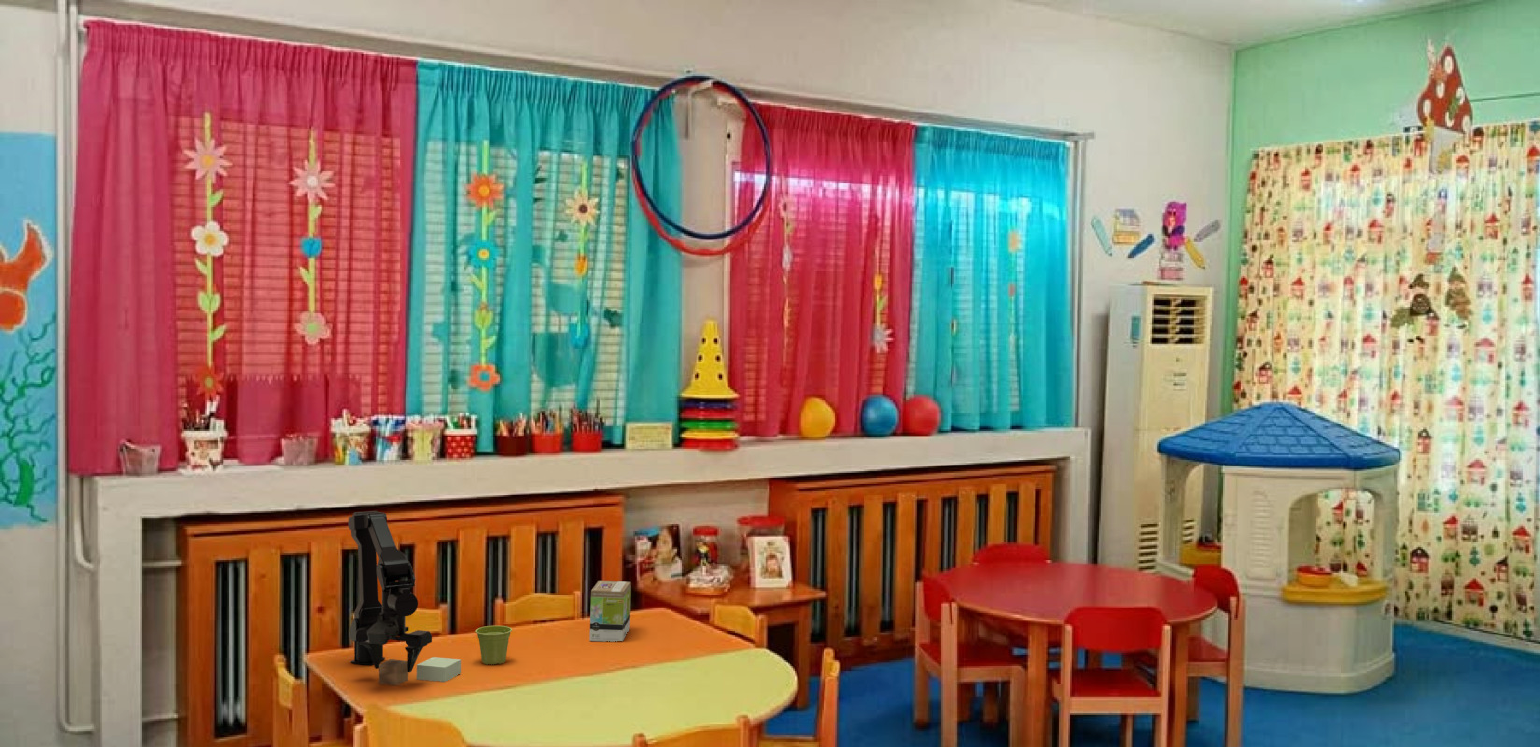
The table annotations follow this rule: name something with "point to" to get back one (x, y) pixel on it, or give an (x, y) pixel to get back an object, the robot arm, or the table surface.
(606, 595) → the tea box
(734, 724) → the table surface
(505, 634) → the plant pot
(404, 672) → the walnut cube
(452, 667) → the sage block
